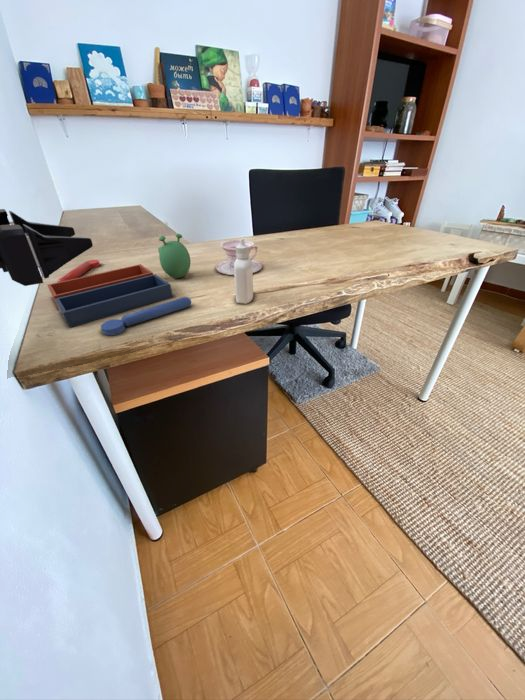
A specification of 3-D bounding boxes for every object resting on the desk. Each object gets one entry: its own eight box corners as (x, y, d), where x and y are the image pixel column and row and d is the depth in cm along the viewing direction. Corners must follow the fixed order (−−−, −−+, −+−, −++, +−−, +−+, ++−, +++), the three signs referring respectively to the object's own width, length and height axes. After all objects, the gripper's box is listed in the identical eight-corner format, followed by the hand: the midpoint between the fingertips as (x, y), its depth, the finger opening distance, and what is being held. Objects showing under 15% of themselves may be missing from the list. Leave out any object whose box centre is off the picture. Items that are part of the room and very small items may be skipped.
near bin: (69, 327, 52) (62, 313, 50) (61, 312, 57) (54, 298, 55) (172, 297, 62) (170, 284, 60) (158, 286, 67) (155, 274, 65)
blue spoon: (187, 302, 60) (185, 293, 59) (195, 308, 58) (194, 298, 56) (100, 329, 51) (96, 319, 50) (106, 337, 49) (102, 327, 48)
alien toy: (182, 269, 76) (175, 228, 70) (198, 277, 71) (192, 234, 66) (157, 276, 72) (147, 233, 67) (172, 284, 68) (163, 240, 62)
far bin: (59, 310, 58) (53, 296, 56) (52, 297, 63) (47, 284, 61) (155, 284, 68) (152, 272, 66) (143, 275, 73) (140, 264, 71)
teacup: (212, 276, 72) (209, 250, 68) (219, 260, 82) (217, 237, 78) (261, 276, 71) (260, 250, 68) (262, 260, 81) (262, 237, 78)
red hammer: (70, 288, 67) (66, 279, 66) (54, 288, 67) (50, 279, 66) (102, 263, 81) (100, 256, 79) (89, 264, 81) (86, 256, 79)
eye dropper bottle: (261, 296, 62) (260, 237, 55) (243, 306, 58) (240, 244, 51) (245, 291, 64) (243, 234, 57) (227, 300, 60) (222, 240, 53)
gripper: (-122, 175, 24) (84, 176, 33) (-99, 167, 36) (49, 170, 45) (-50, 300, 30) (108, 272, 39) (-50, 259, 42) (72, 245, 51)
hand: (82, 236), depth 43 cm, fingers open, 9 cm apart
